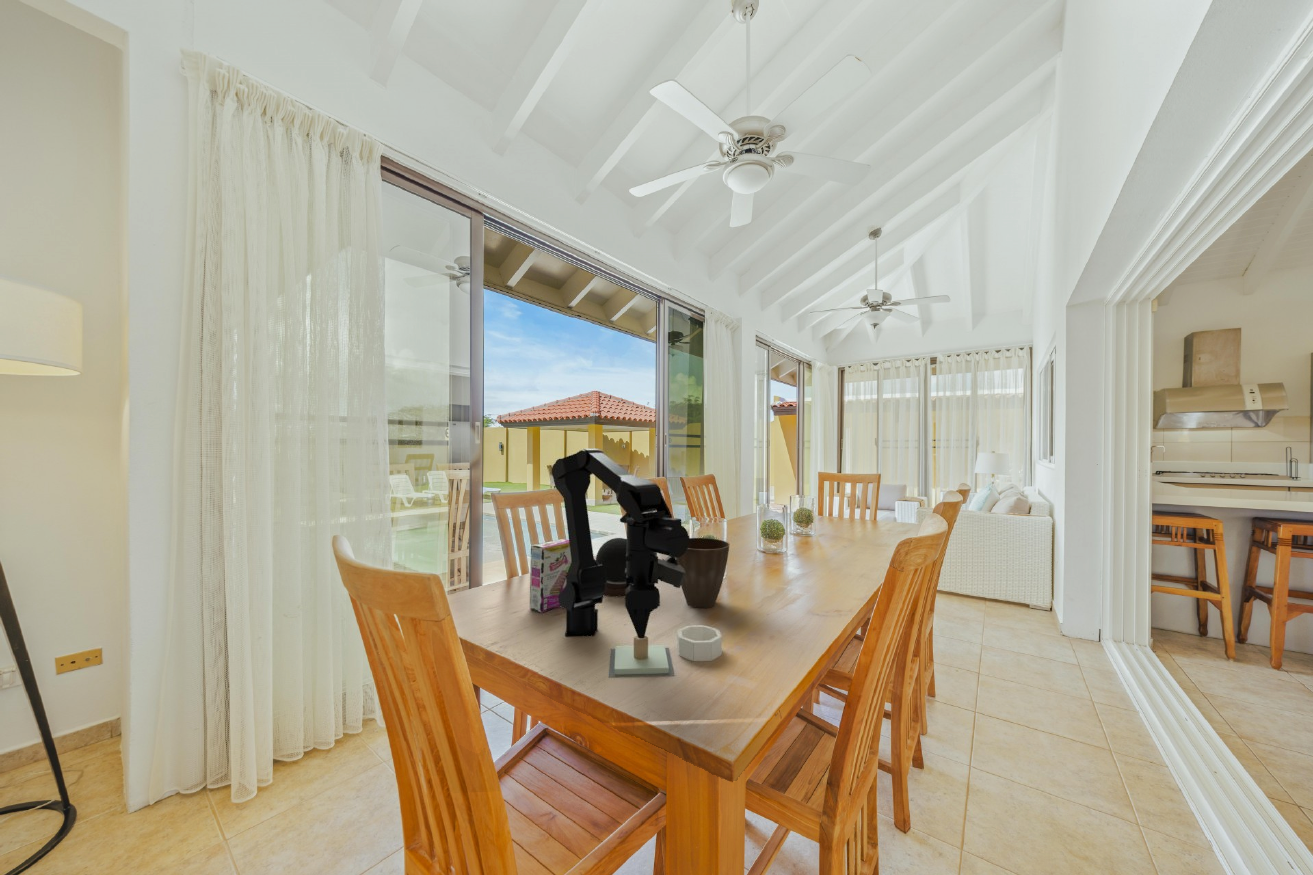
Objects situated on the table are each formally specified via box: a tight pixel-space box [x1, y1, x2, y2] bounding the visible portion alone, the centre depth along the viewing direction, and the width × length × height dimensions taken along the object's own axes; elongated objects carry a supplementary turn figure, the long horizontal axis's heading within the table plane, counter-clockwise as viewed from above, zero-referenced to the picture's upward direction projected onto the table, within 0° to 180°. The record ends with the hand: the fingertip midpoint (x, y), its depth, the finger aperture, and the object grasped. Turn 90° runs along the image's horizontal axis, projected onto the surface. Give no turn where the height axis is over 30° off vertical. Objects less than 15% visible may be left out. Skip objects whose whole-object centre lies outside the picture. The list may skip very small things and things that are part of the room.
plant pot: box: [676, 537, 730, 609], centre depth 130 cm, size 15×15×16 cm
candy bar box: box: [529, 538, 571, 614], centre depth 128 cm, size 11×5×16 cm, turn 144°
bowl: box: [676, 624, 723, 662], centre depth 100 cm, size 9×9×4 cm
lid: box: [614, 635, 669, 675], centre depth 95 cm, size 10×10×4 cm
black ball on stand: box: [595, 537, 627, 598], centre depth 141 cm, size 13×13×15 cm
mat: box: [608, 647, 676, 679], centre depth 95 cm, size 12×12×1 cm
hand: (640, 628), depth 95 cm, fingers open, 9 cm apart
